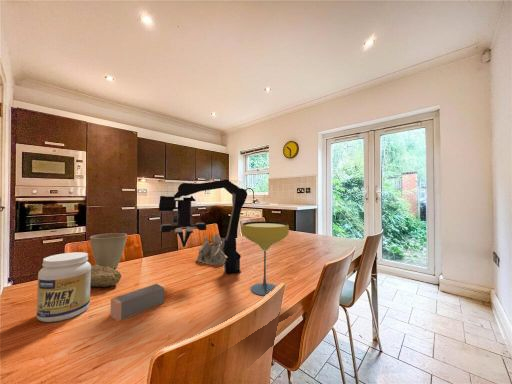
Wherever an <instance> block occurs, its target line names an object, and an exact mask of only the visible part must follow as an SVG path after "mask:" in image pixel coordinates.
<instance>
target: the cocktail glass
mask: <svg viewBox="0 0 512 384" xmlns="http://www.w3.org/2000/svg"><path fill="white" fill-rule="evenodd" d="M289 233H290V226H289V224H288V223H286V222H278V221H265V220H264V221H263V220H262V221H247V222H244V223H242V225H241V234H242V235H243V236H244V237H245V238H246V239H247V240H249V241H251V242H252V243H255V244H257V246H259V248H260V249H261V250H262V251H263V282H262V283H261V282H259V283H256V284H253V285H251V286H250V291H251V292H252V293H253V294H254V295H258V296H262V297H264V296H265V295H266V294H268V293H269V292H270V291H272V290H273V289H274V288H275V287H276V286H277V285H275V284H272V283H267V273H266V271H267V270H266V269H267V268H266V265H267V263H266V262H267V261H266V259H267V256H266V255H267V251H268V250H269V249H270V247H271V246H272V245H274V244H276V243H279V242H281V241H283V240H284V239H285V238H286V237H288V235H289Z"/></svg>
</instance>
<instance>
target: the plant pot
mask: <svg viewBox="0 0 512 384" xmlns="http://www.w3.org/2000/svg"><path fill="white" fill-rule="evenodd" d="M127 237H128V234H127V233H120V232H118V233H117V232H110V233H100V234H95V235H91V236H89V241H90V247H91V251H92V255H93V259H94V261H95V265H99V266H108V267H111V268H116V269H117V268H118V266H119V264H120V262H121V259H122V256H123V254H124V250H125V246H126V242H127Z"/></svg>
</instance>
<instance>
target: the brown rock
mask: <svg viewBox="0 0 512 384" xmlns="http://www.w3.org/2000/svg"><path fill="white" fill-rule="evenodd" d="M121 278H122V274H121V273H120V271H119V270H117V268H116V269H114V268H111V267H108V266H99V265H97V264H91V280H90V287H98V288H100V287H101V288H104V287H105V288H106V287H111V286H114V285H115V286H116V285H117V284H119V282H120V281H121Z"/></svg>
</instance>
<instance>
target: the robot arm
mask: <svg viewBox="0 0 512 384" xmlns="http://www.w3.org/2000/svg"><path fill="white" fill-rule="evenodd" d="M219 189H224V190H225V191H227V192H228V193H229V194H231V197H232V198H231V200H232V202H231V203H232V209H231V212H230V218H229V222H228V223H229V224H228V229H227V233H226V236H225V237H221V245H220V246H221V249H222V251H223V253H224V254H225V256H226V258H225V262H224V264H223V270H224V272H225V273H226V274H228V275H232V274H237V273H241V272H242V270H241V257H242V255H241V254H240V253H239V252H238V251H237V239H236V238H237V232H238V228H239V222H240V218H241V212H242V208H243V206H244V205H245V203H246V200H247V197H248V192H247V190H246V189H244V188H241V187H239V186H238V185H236V184H235V183H233V182H232V181H230V179H225V178H224V179H223V180H216V181H207V182H201V183H195V182H194V183H193V182H183V183H180V184H179V186H178V187H177V192H176V193H175V194H173V196H172V195H171V196H166V195H160V196H159V203H158V210H159V211H158V212H159V213H160V212H163V213H164V212H167V213H168V212H171V213H172V212H174V210H177V215H172V223H163V224H161V225H160V232H161V233H170V232H171V231H174V233H175V234H176V235H178V236H179V238H180V241H181V242H180V243H181V246H182V247H183V248H185V247H186V245H187V242H188V240H189V238H190V236H191V234H193V233H194V231H193V230H195V229H197V230H198V231H207V224H206V223H205V222H195V224H192V202H196V198H194V196H193V194H197V193H200V192H204V191H211V190H212V191H213V190H219ZM187 196H190V197H187ZM182 197H183V198H182ZM181 198H182V199H181ZM172 224H173V225H172ZM174 224H176V225H174ZM183 230H184V232H183Z"/></svg>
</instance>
